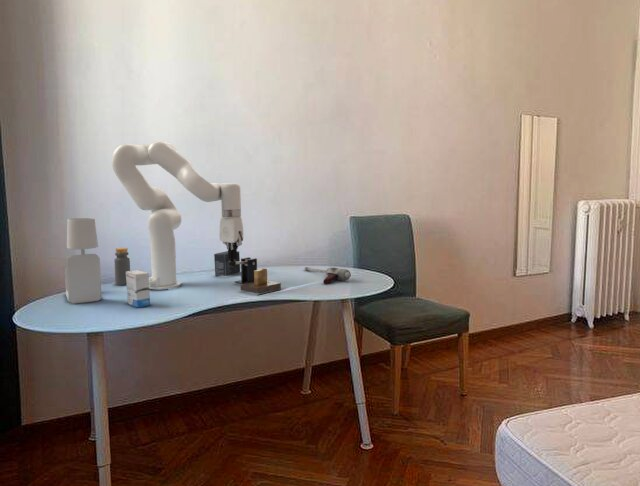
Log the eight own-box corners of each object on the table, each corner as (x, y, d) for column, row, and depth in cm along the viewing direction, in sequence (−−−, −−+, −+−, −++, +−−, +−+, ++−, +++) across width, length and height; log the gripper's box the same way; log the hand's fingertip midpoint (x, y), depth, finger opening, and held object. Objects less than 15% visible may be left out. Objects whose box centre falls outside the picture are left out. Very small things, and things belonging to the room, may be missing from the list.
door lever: (230, 267, 211) (231, 259, 211) (225, 266, 213) (226, 258, 213) (253, 266, 221) (254, 259, 221) (248, 266, 223) (249, 258, 223)
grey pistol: (287, 280, 246) (310, 272, 254) (331, 288, 218) (355, 279, 226) (285, 270, 245) (308, 262, 253) (328, 277, 218) (353, 268, 225)
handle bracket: (247, 287, 215) (246, 260, 214) (234, 284, 220) (234, 258, 219) (263, 283, 222) (263, 258, 221) (251, 280, 227) (250, 256, 226)
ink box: (150, 305, 185) (149, 272, 184) (136, 308, 181) (135, 274, 180) (140, 301, 191) (139, 269, 190) (126, 303, 187) (125, 271, 186)
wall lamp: (96, 291, 207) (92, 214, 203) (103, 302, 189) (99, 219, 185) (65, 294, 201) (61, 215, 198) (70, 306, 183) (65, 220, 180)
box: (229, 272, 246) (228, 250, 245) (240, 273, 243) (240, 251, 242) (214, 276, 236) (213, 253, 235) (225, 277, 234) (225, 254, 232)
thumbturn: (257, 284, 205) (257, 270, 205) (254, 284, 206) (254, 269, 206) (267, 282, 209) (267, 268, 208) (263, 282, 210) (263, 268, 210)
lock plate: (257, 295, 200) (257, 287, 200) (240, 291, 207) (240, 284, 206) (280, 290, 210) (280, 282, 209) (263, 286, 216) (263, 279, 215)
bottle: (115, 283, 222) (114, 247, 220) (130, 282, 224) (129, 247, 222) (115, 285, 216) (113, 249, 215) (130, 284, 218) (128, 249, 217)
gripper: (212, 213, 213) (213, 258, 215) (235, 215, 204) (237, 262, 206) (227, 212, 219) (228, 256, 221) (250, 214, 210) (252, 259, 212)
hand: (232, 258), depth 213 cm, fingers closed
